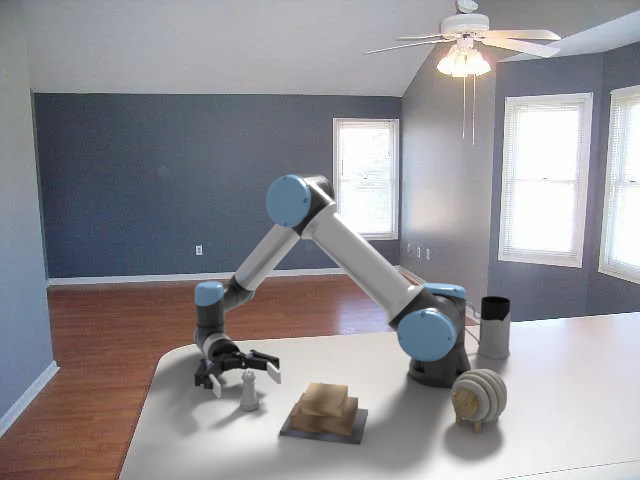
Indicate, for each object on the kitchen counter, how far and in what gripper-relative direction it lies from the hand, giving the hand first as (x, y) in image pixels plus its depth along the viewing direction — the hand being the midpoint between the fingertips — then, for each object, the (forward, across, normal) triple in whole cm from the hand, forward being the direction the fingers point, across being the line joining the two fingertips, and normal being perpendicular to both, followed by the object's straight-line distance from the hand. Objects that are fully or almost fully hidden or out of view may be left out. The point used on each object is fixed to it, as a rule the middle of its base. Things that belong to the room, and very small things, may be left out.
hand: (250, 384), depth 111 cm
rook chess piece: (-1, 0, -6) cm, 6 cm away
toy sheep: (+28, -40, -6) cm, 49 cm away
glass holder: (-1, -68, -6) cm, 69 cm away
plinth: (+13, -12, -6) cm, 18 cm away
